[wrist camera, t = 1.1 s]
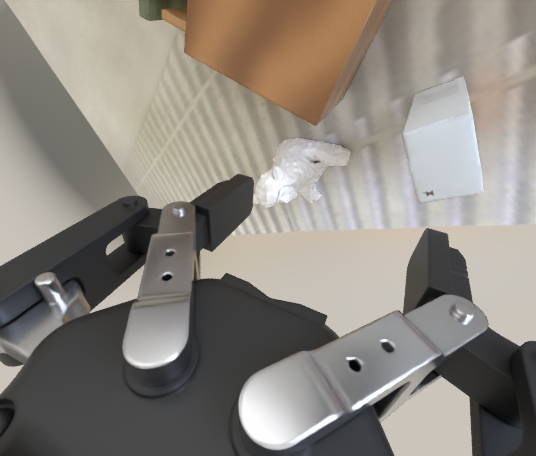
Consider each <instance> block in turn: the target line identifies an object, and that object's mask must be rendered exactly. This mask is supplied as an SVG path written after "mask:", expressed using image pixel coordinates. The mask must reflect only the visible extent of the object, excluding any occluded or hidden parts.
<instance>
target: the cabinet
mask: <svg viewBox="0 0 536 456" xmlns="http://www.w3.org/2000/svg"><path fill="white" fill-rule="evenodd" d="M392 1H393V0H187V16H186V32H185V48H184V53H186V54H188V55H190V56H191V57H193V58H195V59H197V60H199V61H200V62H202V63H204V64H206V65H207V66H209V67H211V68H213V69H215V70H216V71H218V72H220V73H222V74H224V75H225V76H227V77H229V78H231V79H232V80H234V81H236V82H238V83H240V84H241V85H243V86H245V87H247V88H249V89H250V90H252V91H254V92H256V93H257V94H259V95H261V96H263V97H265V98H266V99H268V100H270V101H272V102H273V103H275V104H277V105H279V106H281V107H282V108H284V109H286V110H288V111H290V112H291V113H293V114H295V115H297V116H298V117H300V118H302V119H304V120H306V121H307V122H309V123H311V124H313V125H315V126H316V125H317V124H318V123H319V122H320V121H321V120H322V119H323V118H324V117H325V116H326V115H327V114H328V113H329V112H330V111H331V110H332V109H333V108H334V107H335V106H336V105H337V104H338V103H339V102H340V101H341V100H342V99H343V97H344V95H345V93H346V91H347V89H348V87H349V85H350V83H351V81H352V79H353V78H354V76H355V74H356V72H357V70H358V68H359V66H360V64H361V62H362V60H363V58H364V56H365V54H366V52H367V50H368V48H369V46H370V44H371V42H372V40H373V38H374V36H375V34H376V32H377V31H378V29H379V27H380V25H381V23H382V21H383V19H384V17H385V15H386V13H387V11H388V9H389V7H390V5H391V3H392Z"/></svg>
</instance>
